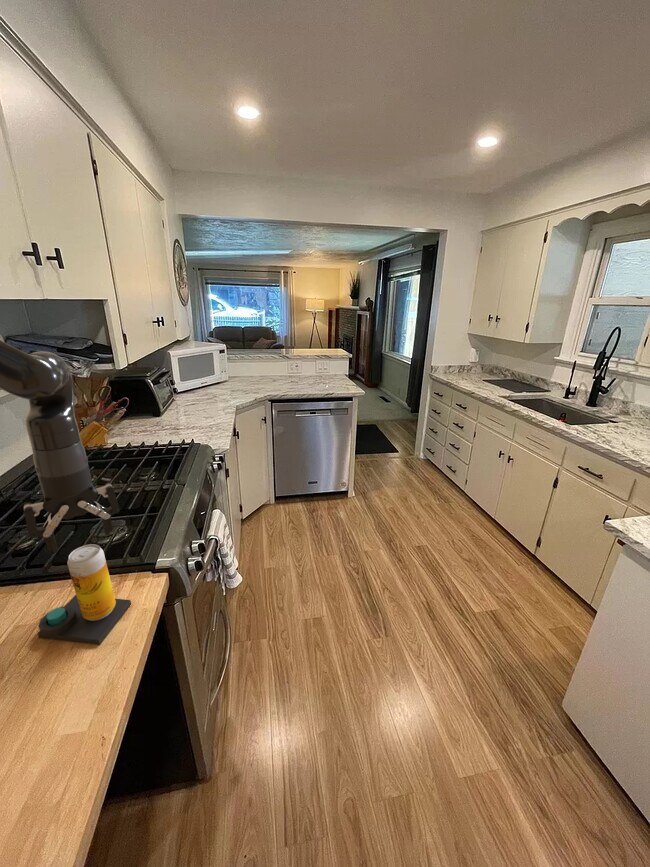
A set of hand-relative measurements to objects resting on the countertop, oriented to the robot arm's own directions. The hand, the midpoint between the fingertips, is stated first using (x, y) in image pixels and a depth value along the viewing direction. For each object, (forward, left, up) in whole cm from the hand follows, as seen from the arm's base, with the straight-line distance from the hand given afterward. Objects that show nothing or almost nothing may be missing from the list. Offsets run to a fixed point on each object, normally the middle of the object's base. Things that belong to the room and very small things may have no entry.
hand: (82, 541), depth 69 cm
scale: (-2, -2, -19) cm, 19 cm away
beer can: (0, 0, -18) cm, 18 cm away
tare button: (-6, -4, -16) cm, 18 cm away
